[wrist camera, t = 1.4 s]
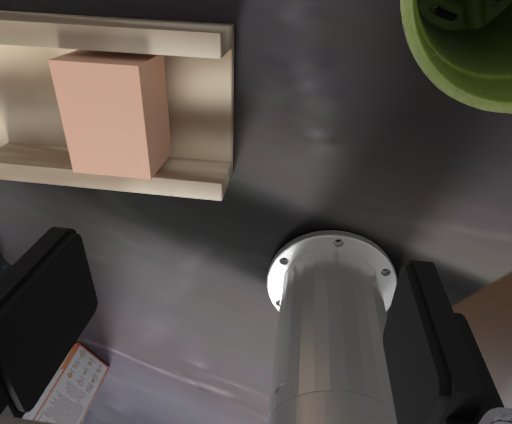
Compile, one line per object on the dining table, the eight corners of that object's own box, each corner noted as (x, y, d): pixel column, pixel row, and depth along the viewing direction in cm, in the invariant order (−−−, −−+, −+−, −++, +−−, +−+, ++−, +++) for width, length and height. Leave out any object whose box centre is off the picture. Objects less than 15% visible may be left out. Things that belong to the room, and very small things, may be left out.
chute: (232, 173, 35) (221, 201, 31) (-30, 149, 37) (-74, 172, 33) (234, 23, 29) (220, 33, 25) (-82, 5, 31) (-145, 11, 27)
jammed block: (171, 153, 33) (150, 179, 29) (103, 146, 34) (73, 172, 30) (163, 52, 29) (138, 66, 25) (86, 46, 30) (48, 59, 26)
